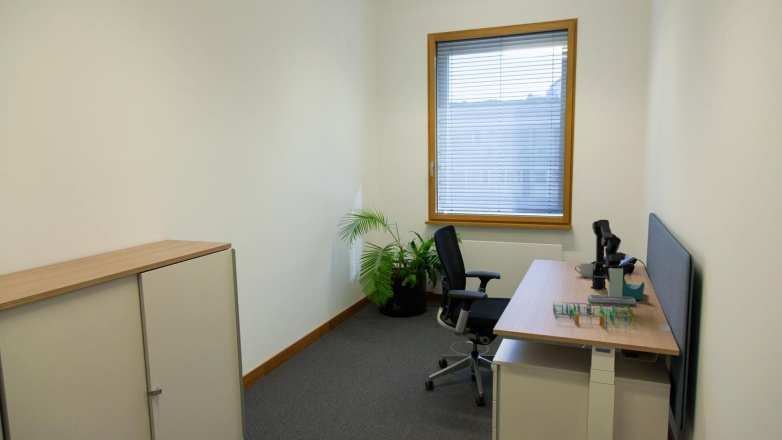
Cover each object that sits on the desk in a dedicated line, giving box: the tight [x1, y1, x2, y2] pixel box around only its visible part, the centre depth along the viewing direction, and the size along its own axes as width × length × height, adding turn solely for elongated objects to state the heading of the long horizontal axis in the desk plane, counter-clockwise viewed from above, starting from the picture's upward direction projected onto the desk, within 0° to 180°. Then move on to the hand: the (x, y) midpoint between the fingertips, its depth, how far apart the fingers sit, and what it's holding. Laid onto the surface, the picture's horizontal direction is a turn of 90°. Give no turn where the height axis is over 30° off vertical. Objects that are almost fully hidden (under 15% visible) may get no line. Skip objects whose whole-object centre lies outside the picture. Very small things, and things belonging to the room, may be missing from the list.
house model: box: [552, 301, 638, 333], centre depth 228 cm, size 35×30×5 cm
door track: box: [587, 294, 637, 307], centre depth 258 cm, size 22×8×3 cm, turn 78°
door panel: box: [607, 268, 623, 297], centre depth 250 cm, size 6×3×14 cm, turn 78°
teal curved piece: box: [622, 278, 645, 301], centre depth 271 cm, size 18×11×10 cm, turn 151°
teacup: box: [573, 262, 594, 279], centre depth 321 cm, size 14×11×8 cm
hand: (616, 281), depth 248 cm, fingers closed on door panel, 6 cm apart
